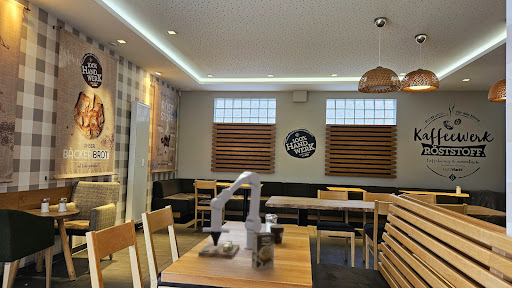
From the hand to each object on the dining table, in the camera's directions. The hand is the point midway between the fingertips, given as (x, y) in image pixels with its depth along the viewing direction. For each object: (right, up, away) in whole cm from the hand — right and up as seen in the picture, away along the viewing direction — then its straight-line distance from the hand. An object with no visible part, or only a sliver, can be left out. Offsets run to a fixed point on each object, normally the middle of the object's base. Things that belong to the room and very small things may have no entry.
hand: (215, 245), depth 189 cm
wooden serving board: (+2, -4, +2) cm, 5 cm away
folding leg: (+6, -2, +2) cm, 7 cm away
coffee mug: (+36, -6, +27) cm, 45 cm away
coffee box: (+25, -4, -22) cm, 33 cm away
